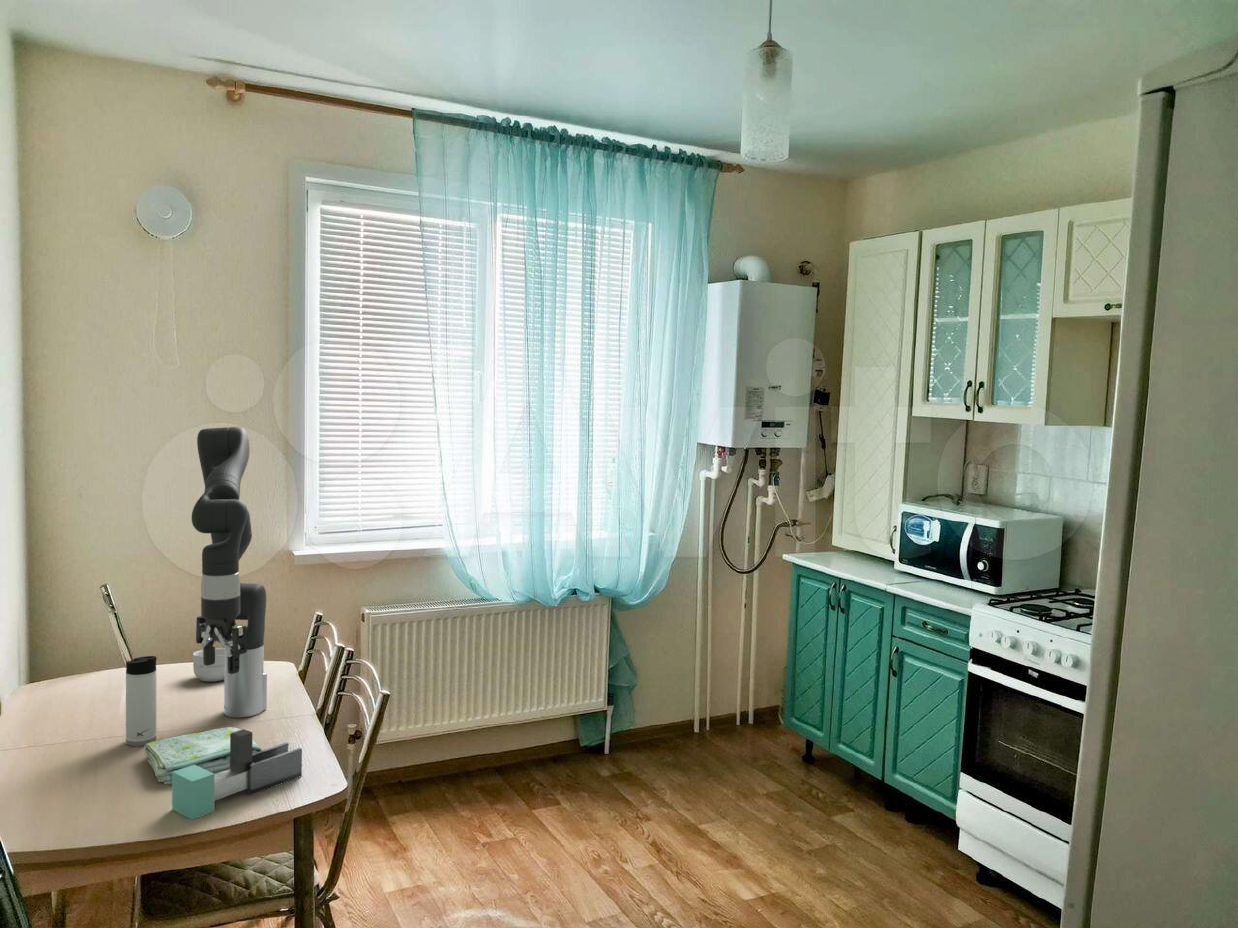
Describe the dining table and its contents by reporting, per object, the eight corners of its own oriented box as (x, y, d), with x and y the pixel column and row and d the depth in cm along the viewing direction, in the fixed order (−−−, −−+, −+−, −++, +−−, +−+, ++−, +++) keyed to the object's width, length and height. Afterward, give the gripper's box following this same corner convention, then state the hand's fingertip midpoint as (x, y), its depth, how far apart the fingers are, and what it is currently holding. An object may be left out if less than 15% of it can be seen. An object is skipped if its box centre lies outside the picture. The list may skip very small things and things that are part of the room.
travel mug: (144, 747, 204) (144, 661, 203) (119, 744, 205) (119, 659, 204) (163, 738, 210) (163, 654, 209) (139, 735, 211) (139, 652, 210)
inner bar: (251, 778, 187) (251, 725, 186) (261, 782, 185) (262, 729, 184) (186, 801, 175) (186, 745, 175) (197, 806, 173) (197, 750, 173)
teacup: (184, 682, 250) (184, 654, 250) (208, 671, 261) (208, 644, 260) (230, 687, 248) (230, 658, 247) (252, 675, 259) (252, 648, 258)
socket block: (194, 801, 179) (194, 764, 178) (214, 811, 175) (214, 773, 174) (172, 809, 175) (172, 771, 174) (192, 819, 171) (192, 781, 170)
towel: (141, 759, 199) (141, 737, 198) (241, 740, 211) (241, 719, 211) (157, 789, 184) (157, 765, 184) (264, 766, 197) (264, 744, 197)
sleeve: (286, 769, 195) (286, 742, 195) (301, 776, 192) (301, 748, 192) (235, 787, 185) (235, 759, 185) (251, 795, 182) (251, 765, 182)
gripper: (257, 595, 187) (257, 671, 188) (216, 585, 195) (217, 657, 196) (224, 602, 181) (225, 680, 182) (184, 591, 188) (184, 666, 190)
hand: (221, 668), depth 189 cm, fingers open, 8 cm apart
